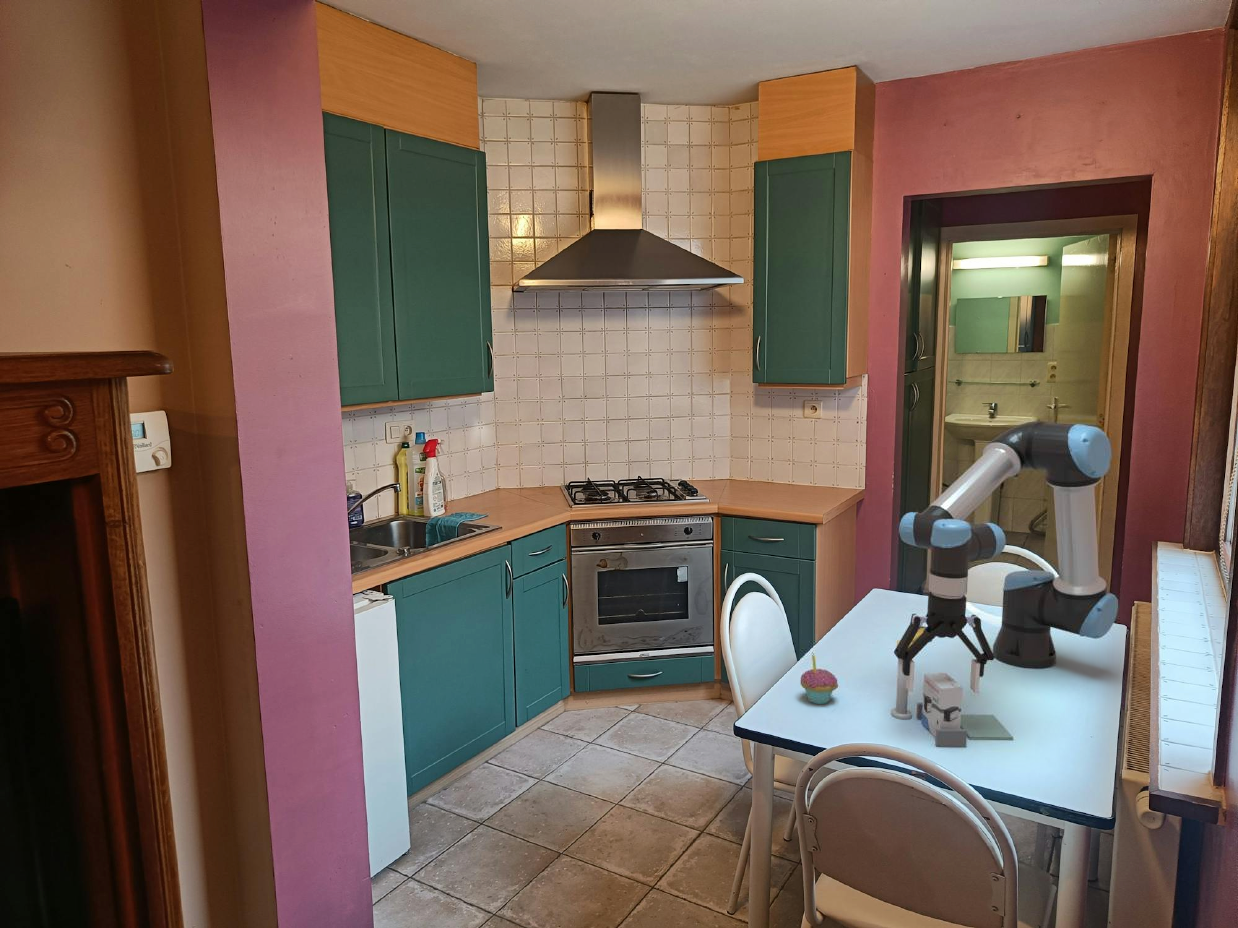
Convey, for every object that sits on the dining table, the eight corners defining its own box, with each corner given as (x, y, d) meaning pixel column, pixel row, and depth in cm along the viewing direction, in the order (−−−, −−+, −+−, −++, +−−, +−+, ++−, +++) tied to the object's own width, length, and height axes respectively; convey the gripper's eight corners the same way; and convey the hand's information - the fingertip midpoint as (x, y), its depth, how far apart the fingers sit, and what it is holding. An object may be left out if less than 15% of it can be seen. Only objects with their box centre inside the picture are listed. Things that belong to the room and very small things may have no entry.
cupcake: (815, 710, 197) (817, 659, 195) (792, 696, 205) (793, 647, 203) (844, 702, 201) (846, 653, 199) (820, 689, 209) (821, 641, 207)
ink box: (920, 723, 190) (923, 672, 188) (942, 722, 191) (945, 671, 189) (938, 741, 182) (940, 688, 180) (960, 740, 182) (963, 687, 180)
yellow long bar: (908, 659, 190) (908, 646, 190) (894, 655, 192) (894, 642, 192) (932, 640, 201) (933, 628, 201) (919, 637, 203) (919, 625, 203)
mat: (992, 717, 193) (992, 714, 193) (1013, 739, 182) (1013, 737, 182) (951, 716, 193) (952, 714, 193) (969, 739, 183) (969, 736, 182)
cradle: (938, 711, 196) (941, 653, 194) (966, 747, 179) (969, 684, 177) (888, 710, 197) (891, 653, 195) (911, 746, 180) (914, 684, 178)
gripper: (1000, 589, 185) (994, 684, 188) (882, 587, 186) (877, 682, 189) (1015, 599, 177) (1008, 698, 180) (892, 597, 178) (887, 695, 181)
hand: (941, 690), depth 185 cm, fingers open, 13 cm apart
